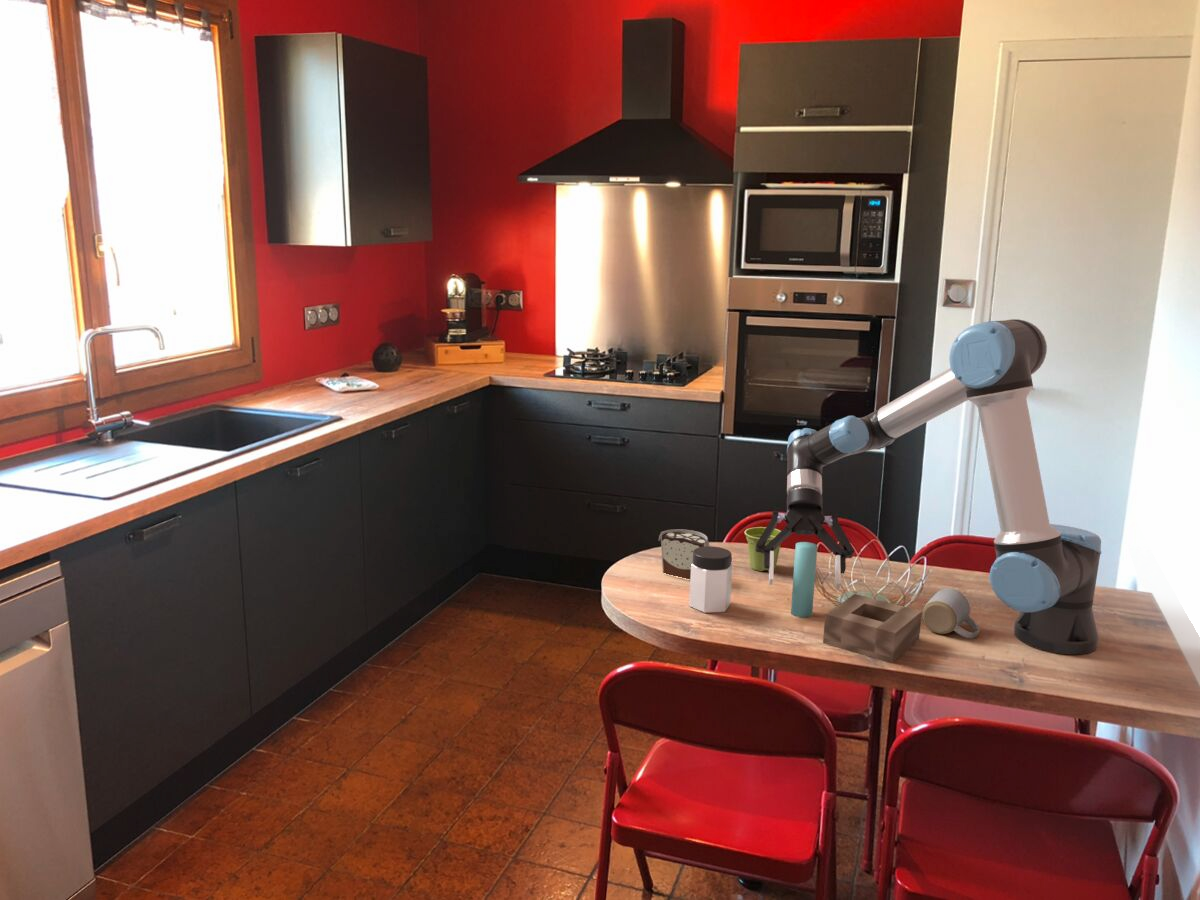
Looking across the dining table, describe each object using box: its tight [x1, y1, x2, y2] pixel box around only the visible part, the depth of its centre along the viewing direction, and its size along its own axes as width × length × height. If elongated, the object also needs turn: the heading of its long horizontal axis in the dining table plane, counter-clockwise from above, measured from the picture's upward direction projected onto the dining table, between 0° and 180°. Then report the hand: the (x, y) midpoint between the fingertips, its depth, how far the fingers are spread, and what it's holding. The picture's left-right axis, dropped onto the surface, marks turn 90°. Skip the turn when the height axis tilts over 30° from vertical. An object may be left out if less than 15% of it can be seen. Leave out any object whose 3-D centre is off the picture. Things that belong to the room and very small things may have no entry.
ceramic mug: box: [922, 587, 980, 639], centre depth 199 cm, size 11×8×8 cm
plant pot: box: [744, 526, 782, 572], centre depth 234 cm, size 9×9×9 cm
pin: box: [790, 541, 818, 619], centre depth 206 cm, size 4×4×15 cm
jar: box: [688, 545, 733, 614], centre depth 209 cm, size 9×8×12 cm
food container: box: [658, 528, 710, 579], centre depth 228 cm, size 12×6×10 cm, turn 58°
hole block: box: [822, 593, 923, 664], centre depth 194 cm, size 14×14×6 cm
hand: (804, 584), depth 204 cm, fingers open, 13 cm apart
